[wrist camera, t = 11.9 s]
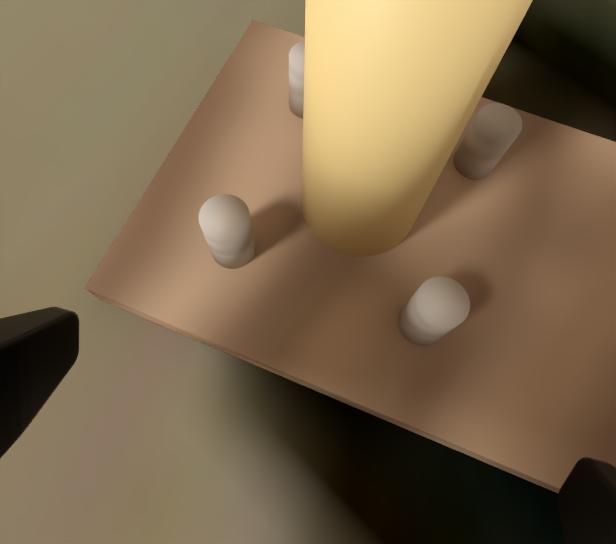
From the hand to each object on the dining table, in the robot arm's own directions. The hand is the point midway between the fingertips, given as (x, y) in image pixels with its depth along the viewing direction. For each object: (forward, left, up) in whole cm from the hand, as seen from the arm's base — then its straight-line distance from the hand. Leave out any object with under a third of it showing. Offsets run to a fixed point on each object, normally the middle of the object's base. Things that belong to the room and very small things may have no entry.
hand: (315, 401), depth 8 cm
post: (+2, +8, -7) cm, 11 cm away
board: (+7, +6, -8) cm, 12 cm away
